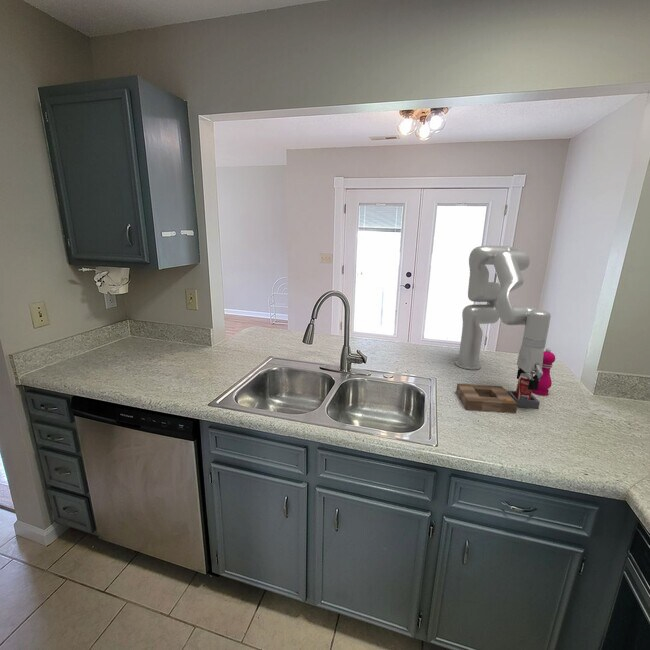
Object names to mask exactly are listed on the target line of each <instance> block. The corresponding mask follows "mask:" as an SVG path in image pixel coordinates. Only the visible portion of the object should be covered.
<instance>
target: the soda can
mask: <svg viewBox="0 0 650 650" xmlns="http://www.w3.org/2000/svg"><path fill="white" fill-rule="evenodd" d="M533 377H534V375H533ZM530 379H531V377H530V373H521V374H520V376H519V379H517V380H518V381H517V385H516V390H515V391H516V395H515V397H516V398H517V399H519V400H530V398H531V394H532V393H533V392H532V390H529V389H528V385H529V380H530Z"/></svg>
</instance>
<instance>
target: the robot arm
mask: <svg viewBox="0 0 650 650" xmlns="http://www.w3.org/2000/svg"><path fill="white" fill-rule="evenodd" d="M530 263H531V258H530V255H529V254H528V253H527V252H526V251H524V250H522V249H518V248H516V247H511V246H508V245H479V246H476V247H474V248H473V249H472V250H471V251H470V253H469V257H468V266H469V267H468V268H469V279H468V288H467V298H468V300H469V301H471V302H473V303H478V304H468V305H466V306H465V307H464V308H463V310H462V313H461V314H462V315H461V317H462V328H461V329H462V330H461V337H460V346H459V354H458V358H457V359H455V360H454V364H455V365H456V366H457V367H458V368H461V369H464V370H471V371H473V370H474V371H475V370H479V369H482V364H481V363H480V362H479V361H480V354H481V348H482V347H481V346H482V342H483V341H482V340H483V330H482V327H481V326H480V325H482V324H483V325H487V324H495V323H497V322H499V319H500V320H501V322H502V323H503V324H505V325H506V326H524V330H523V335H522V342H521V343H522V344H521V345H520V349H519V352H518V356H517V360H516V361H517V363H516V365H517V374H516V379H517V380H518V379H519V376H520V374H521V373H527V374H530V377H531V379H530V380H529V385H528V389H529V390H537V389H538V384H539V381H540V379H541V376H542V375H543V372H542V370H541V369H542V364H543V354H544V351H545V350H544V349H545V348H546V344H547V338H548V332H549V327H550V322H551V313H550V312H549V311H547V310H541V309H539V308H537V307H535V306H532V305H529V306H528V305H518V306H517V305H516V306H515V305H512V304H511V301H510V293H511V292H513V291H515V290H517V289H519V288H521V287H522V286H523V285H524V282H525V280H524V278H523V275H522V272H521V271H526V270H527V269H528V268H529V266H530ZM486 265H488V266H489V265H493V266H494V270H495V273H496V276H497V279H498V281H499V283H498V282H493V281H492V282H491V281H489V278H490V272H489V269H488V267H487V266H486ZM479 303H480V304H479ZM481 303H486V304H481ZM535 374H536V375H535ZM534 375H535V376H534ZM533 376H534V377H533Z"/></svg>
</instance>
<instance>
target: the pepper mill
mask: <svg viewBox="0 0 650 650" xmlns="http://www.w3.org/2000/svg"><path fill="white" fill-rule="evenodd" d="M551 351H552V350H551V348H546V349H545V350H544V354H543V364H542V369H541V370H542V372H543V375H542V376H541V379H540V381H539V384H538V389H537V390H532V393H533V394H536V395H538V396H548V395H549V389H550V388H551V387H552V384H553V382H552V378H551V373H550V372H551V369H552V368H553V363H555V361H556V355H555V354H554V353H553V352H551ZM535 375H536V374H533V376H535Z"/></svg>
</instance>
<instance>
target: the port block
mask: <svg viewBox="0 0 650 650" xmlns="http://www.w3.org/2000/svg"><path fill="white" fill-rule="evenodd" d="M455 391H456V394H457V396H458V398H459V399H460V401H461V404H463V407H464V408H465V410H467V411H475V410H476V411H478V412H489V411H497V412H496V413H504V412H508V413H507V414H517V409H518V408H517V405H518V404H517V403H516V401H515V400H514V399H513V398H512V397H511V396H510V395H509V394H508V392H507V390H506V389H505V388H504V387H503V385H492V384H491V385H487V384H473V383H459V382H458V383H456V390H455ZM476 411H475V412H476ZM509 412H510V413H509Z"/></svg>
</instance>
